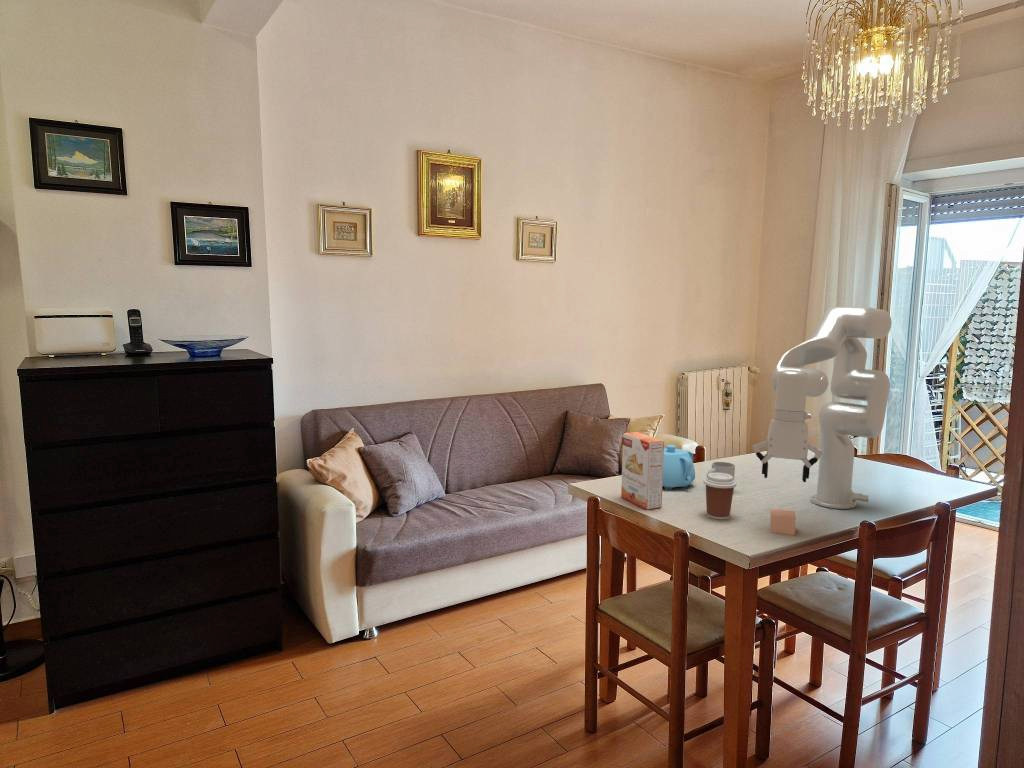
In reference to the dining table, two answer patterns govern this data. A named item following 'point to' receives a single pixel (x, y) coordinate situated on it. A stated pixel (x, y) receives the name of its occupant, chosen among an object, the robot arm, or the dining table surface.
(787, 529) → the stacking block
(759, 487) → the dining table surface
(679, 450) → the decorative pot
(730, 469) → the cup
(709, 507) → the coffee cup
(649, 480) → the cracker box
